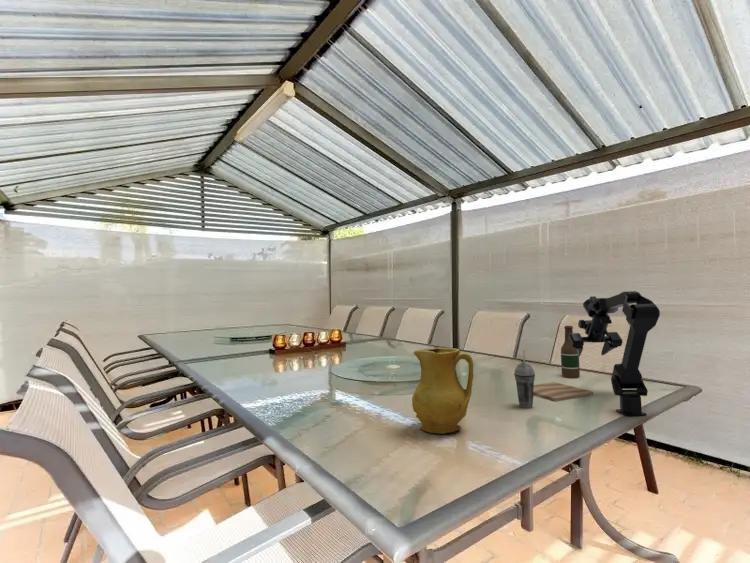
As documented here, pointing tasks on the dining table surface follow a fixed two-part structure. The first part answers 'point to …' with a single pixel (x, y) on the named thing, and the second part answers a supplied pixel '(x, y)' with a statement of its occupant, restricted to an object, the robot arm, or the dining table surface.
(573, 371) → the beer bottle
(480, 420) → the dining table surface
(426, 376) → the pitcher
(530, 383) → the beverage cup
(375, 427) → the dining table surface
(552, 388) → the walnut board
